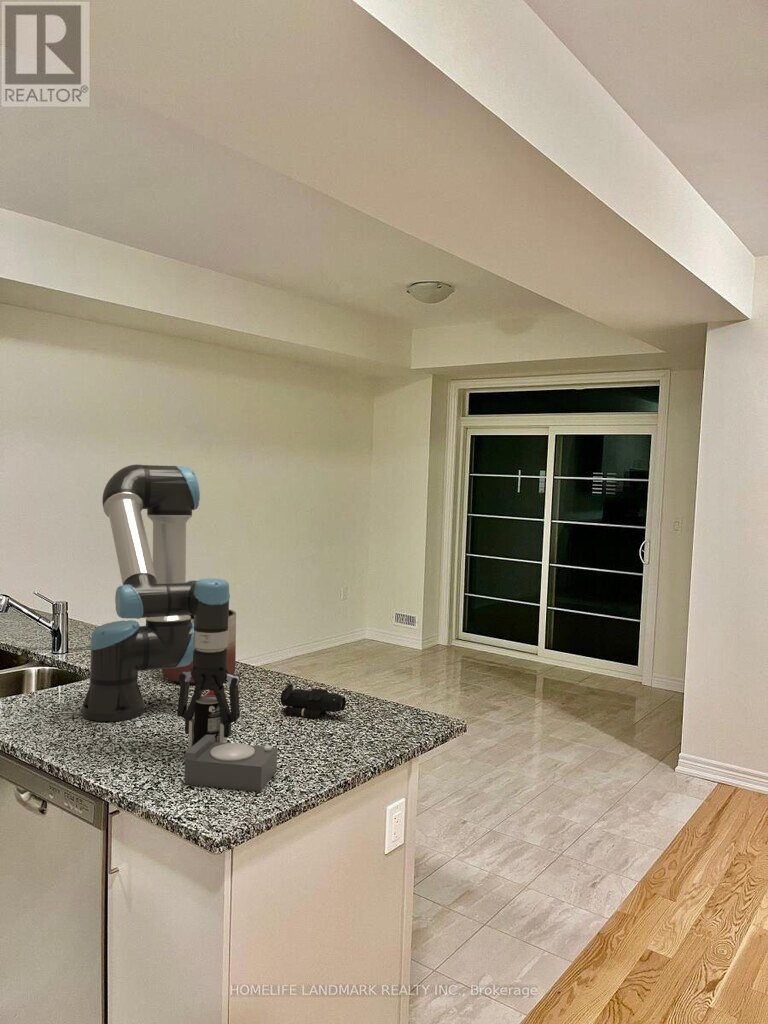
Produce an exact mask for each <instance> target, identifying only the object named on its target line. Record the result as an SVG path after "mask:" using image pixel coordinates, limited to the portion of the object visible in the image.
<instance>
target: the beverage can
mask: <svg viewBox="0 0 768 1024" xmlns="http://www.w3.org/2000/svg"><path fill="white" fill-rule="evenodd" d="M222 722H223V719H222V716H221V712H220V708H219V706H218V702H217V699H216V696H213V695H208V696H205V695H203V696H202V695H201V697H200V699H198V700H196V703H195V705H194V716H193V745H195V744H196V743H197V742H198V741H199V740H200V739H201V738H203V737H204V736H205V735H215V742H218V743H219V741H220V724H221V723H222Z"/></svg>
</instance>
